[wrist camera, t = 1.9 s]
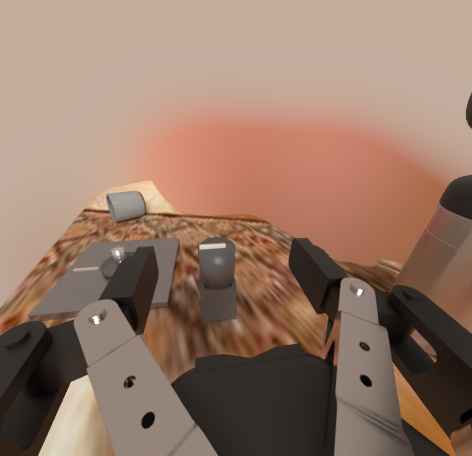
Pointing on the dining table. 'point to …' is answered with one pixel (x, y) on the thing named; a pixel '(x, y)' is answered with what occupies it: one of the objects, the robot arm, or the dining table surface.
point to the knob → (217, 279)
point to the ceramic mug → (126, 205)
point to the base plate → (105, 277)
